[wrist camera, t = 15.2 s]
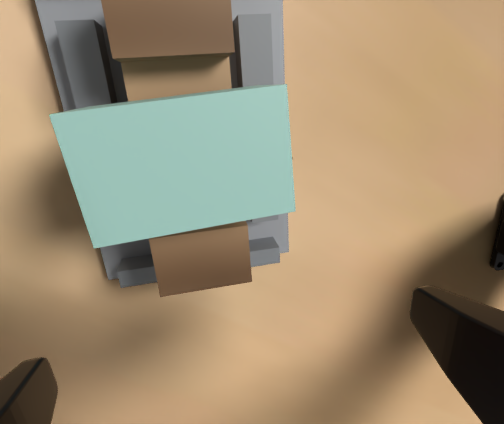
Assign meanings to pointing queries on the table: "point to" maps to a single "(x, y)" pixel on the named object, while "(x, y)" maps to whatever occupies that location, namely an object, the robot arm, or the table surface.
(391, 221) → the table surface
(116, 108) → the pale teal rectangular block
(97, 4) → the jig
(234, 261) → the tan flanged beam
